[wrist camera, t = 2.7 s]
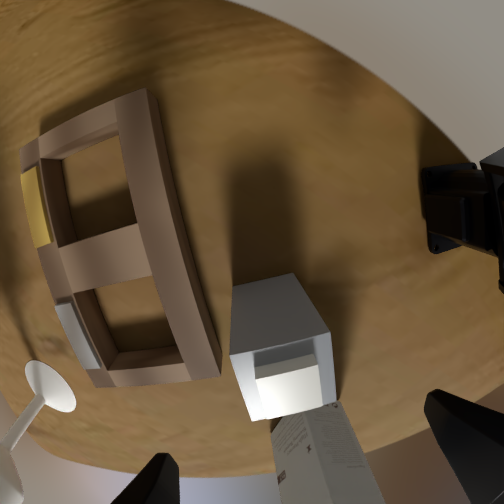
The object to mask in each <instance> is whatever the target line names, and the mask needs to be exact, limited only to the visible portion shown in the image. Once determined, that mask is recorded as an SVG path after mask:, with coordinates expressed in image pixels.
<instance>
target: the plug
mask: <svg viewBox="0 0 504 504" xmlns="http://www.w3.org/2000/svg"><path fill="white" fill-rule="evenodd" d="M229 356H230V359H231V362H232V365H233V368H234V371H235V374H236V377H237V380H238V383H239V386H240V389H241V392H242V395H243V397H244V400H245V403H246V406H247V409H248V412H249V414H250V417H251V420H252V421H256V420H261V419H271V418H276V417H281V416H286V415H290V414H294V413H299V412H303V411H307V410H311V409H314V408H318V407H322V406H323V405H325V404H329V403H332V402H336V387H335V375H334V363H333V352H332V343H331V333H330V331H329V329H328V327H327V326H326V324H325V322H324V321H323V319H322V318H321V316H320V314H319V313H318V311H317V310H316V308H315V307H314V305H313V303H312V302H311V300H310V299H309V297H308V295H307V294H306V292H305V291H304V289H303V288H302V286H301V284H300V283H299V281H298V280H297V278H296V277H295V275H294V273H289V274H285V275H281V276H277V277H272V278H268V279H264V280H259V281H255V282H250V283H246V284H242V285H237V286H233V287H232V307H231V329H230V353H229Z"/></svg>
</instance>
